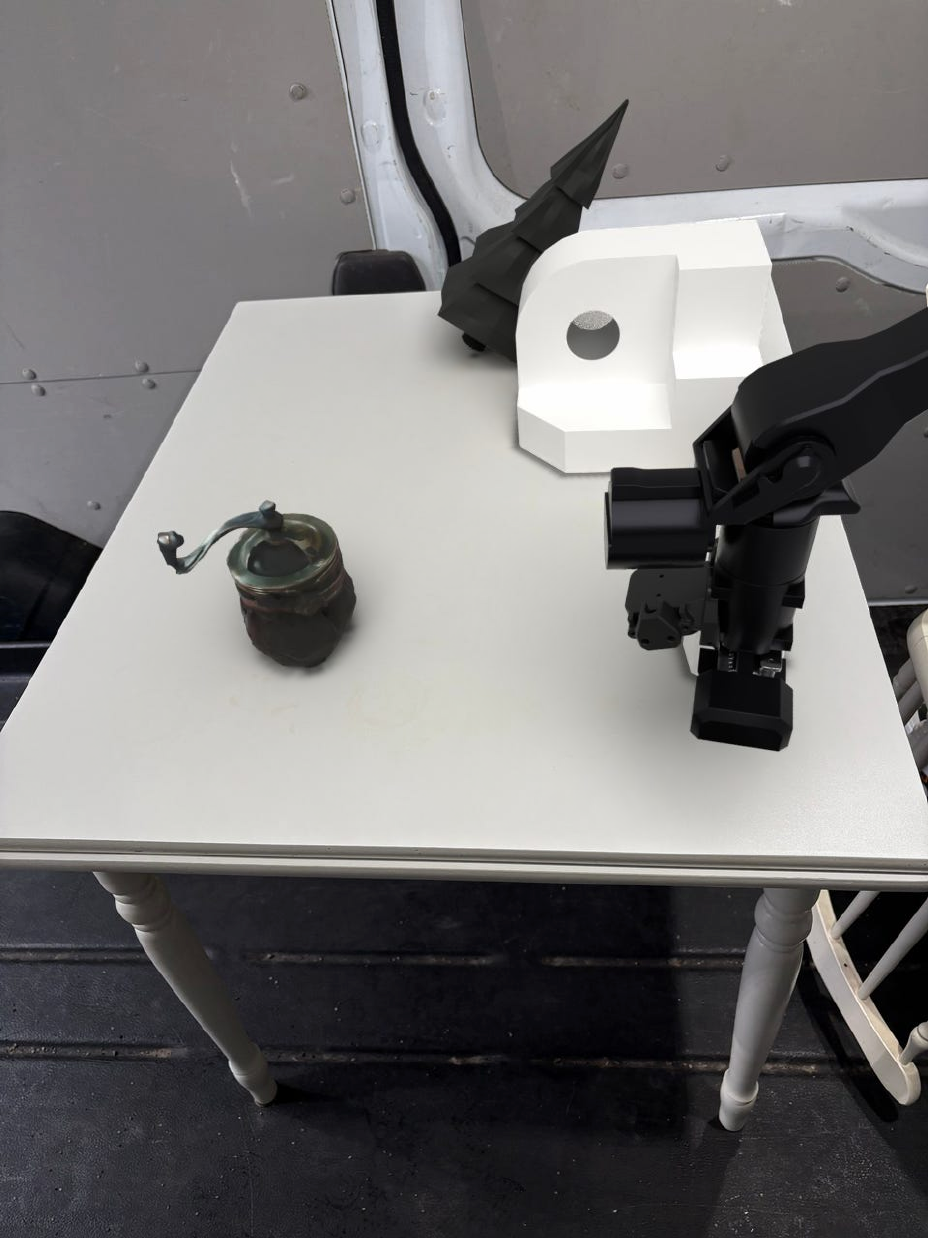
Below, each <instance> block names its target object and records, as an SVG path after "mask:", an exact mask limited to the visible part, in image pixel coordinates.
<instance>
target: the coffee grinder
mask: <svg viewBox="0 0 928 1238" xmlns="http://www.w3.org/2000/svg"><path fill="white" fill-rule="evenodd" d="M276 508H277V504H276V503H275V502H273V501H270V500H268V499H266V500H264V501H263V502H262V503H261V504H260V505H259V507H258V510H255V511H247V512H243V513H240V514H238V515H236V516H233V517H232V518H229V519H228V520H226V521H225V522H223V524H222V525H220V526H219V527H218V528H216V529H214V530H213V531H212V532H210V533H209V535H207V536H206V537H205V538H204V540H203V541H202V543H200V544H199V546H198V547H197V548H195V549H194V550H193V551H192V552H191V553H189V554H188V555H186V556H183V557H178V556H177V550H178V548H180V547H182V546H183V545H184V544H185V538H184V536H183V535H181V534H179V533H178V532H176V531H175V530H169V531H161V532H158V533H157V540H156V544H157V545H158V548H159V552H160V553H161V554H162V558H163V559H164V561H165V564H166V565H167V566H169V567H170V566H171V567H172V568H173V569H174V570H175V575H178V576H179V575H185V574H189V573H190V572H191V571H193V569H194V568H195V567H196V566H198V563H200V562H201V561H202V560H203V559H204V558H205V556H206V555H207V554H208V551H209V550H210V549H211V548H212V547H213V546H214V545H215V544H216V543H217V542H219V540H220V539H222V538H223V537H225V536H227V535H228V534H229V533H231V532H233V531H236V530H238V529H245V530H242V531H241V533H240V535H239V536H238V537H237V538H236V540H235V542H234V544H233V545H231V547H230V548H229V549H228V555H226V559H225V561H226V566H227V568H228V570H229V573H230V576H231V578H232V579H233V581H234V584H235V588H236V591H237V593H238V595H239V605H240V613H241V615H242V617H243V623H244V626H245V629H246V634H247V636H248V638H249V639H250V641H251V643H252V645H253V647H254V648H256V650H258V651H259V652H261V653H263V654H264V655H265V656H267V657H270V658H271V659H272V660H273V661H275V662H276V663H278V664H280V665H282V666H286V667H305V668H312V667H315V666H317V665H319V664H321V663H322V664H323V663H324V662H325V661H326V659H327V657H329V656H330V655H331V654H332V652H333V651H334V650H335V648H336V646H337V644H338V643H339V641H340V640H341V639H342V636H343V634H344V633H345V632H346V630H347V628H348V627H349V624H350V621H351V619H352V617H353V614H354V611H355V608H356V605H357V600H358V599H357V595H356V591H355V585H354V580H353V578H352V577H351V575H349V573H348V572H347V570H346V567H345V564H344V558H343V553H342V550H341V546H340V543H339V539H338V536H337V534H336V533H335V532H336V531H335V530H334V529H333V527H332V526H331V525H330V524H329V523H328V522H326V521H325V520H323V519H321V518H319V517H316V516H314V515H312V514H308V513H296V512H295V513H294V512H292V513H290V512H289V513H285V512H284V513H281V512H280V511H278V510H277V509H276Z"/></svg>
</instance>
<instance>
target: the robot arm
mask: <svg viewBox="0 0 928 1238" xmlns="http://www.w3.org/2000/svg"><path fill="white" fill-rule="evenodd" d="M927 411H928V306H926V307H924V308H923V309H920V310H918V311H917V312H915V313H913V314H911V315H909V316H908V317H906V318H904V319H902V320H900V321H899V322H896V323H894V324H893V325H891V326H889V327H887V328H885V329H883V330H880V331H878V332H875V333H872V334H870V335H867V336H865V337H862V338H856V339H845V340H837V341H830V342H820V343H817V344H814V345H812V346H809V347H806V348H804V349H801V350H799V351H796V352H794V353H791V354H788V355H786V356H783V357H781V358H778V359H776V360H773V361H771V362H769V363H766V364H763V366H762V367H760V368H758V369H757V370H755V371H754V372H753V373H751V374H750V375H748V376H747V377H746V378H745V379H744V380H743V381H742V382H741V383H740V385H739V386H738V391H737V393H736V395H735V398H734V400H733V403H732V404H731V405H730V406H729V407H728V408H727V409H726V410H725V411H724V412H723V413H722V414H721V415H720V416H719V417H718V418H717V419H716V420H715V421H714V422H713V423H712V424H711V425H710V426H709V427H708V428H707V429H706V430H705V431H704V432H703V433H702V434H701V435H700V436H699V437H698V438H697V439H696V440H695V441H694V442H693V444H692V447H693V452H694V457H695V462H694V468H667V469H641V468H635V467H614V468H613V469H611V471H610V472H609V473H610V474H609V481H608V485H607V491H604V496H603V497H604V500H603V544H604V545H603V546H604V564H605V565H604V566H605V570H606V571H610V570H612V571H614V570H618V571H619V570H634V571H633V572H632V573H631V575H630V577H629V582H628V586H627V592H626V596H625V601H624V609H625V611H626V613H627V622H628V627H627V632H626V633H627V634H626V635H627V636H628V637H629V638H630V639H633V640H636V641H637V643H638V646H639V648H641V649H643V650H644V651H647V652H650V651H651V652H652V651H659V650H660V651H661V650H668V649H669V650H670V649H677V648H679V647H680V645H681V644H682V642H683V641H682V640H683V638H684V636H689V635H692V634H695V633H697V632H698V631H701V632H700V640H699V645H702V646H710V647H713V648H714V649H708V648H700V650H699V659H698V669H697V672H698V674H699V675H698V676H696V677H695V683H694V691H693V698H692V705H691V707H692V708H691V717H690V727H689V732H690V733H691V734H692V736H694V737H695V738H696V739H697V740H701V741H707V742H713V743H720V744H725V745H726V744H727V745H732V746H737V747H744V748H751V749H758V750H765V751H771V752H777V753H779V752H781V751H783V750H784V749H786V748H787V747H789V743H790V741H791V737H792V733H793V731H794V689H793V688H792V687H791V686H790V684H788V683H787V658H785V657H783V658H782V651H785V652H791V651H792V648H793V644H794V619H793V618H795V615H794V614H796V610H797V609H800V610H803V608H804V604H805V599H806V572H807V569H808V564H809V561H810V557H811V555H812V551H813V546H814V542H815V538H816V534H817V530H818V527H819V524H820V520H821V517H824V516H825V517H827V516H854V515H858V514H860V512H861V510H862V504H861V503H860V501H859V498H858V495H857V493H856V491H855V488H854V485H853V483H852V480H851V479H850V476H851V475H852V474H854V473H856V472H857V471H859V470H860V469H862V468H863V467H865V466H867V465H868V464H870V463H871V462H873V461H874V460H876V459H877V457H878V456H879V455H880V454H881V453H882V452H883V451H884V449H885V448H886V447H887V446H888V445H889V444H890V443H891V441H892V440H893V439H894V438H895V437H896V436H897V434H898V433H899V432H900V431H901V430H902V428H904V426H905V425H907V424H908V423H910V422H912V421H913V420H915V419H916V418H918V417H920V416H921V415H922V414H924V413H926V412H927ZM738 447H739V451H740V455H741V458H742V462H743V466H744V470H745V472H746V475H747V476H746V477H743V478H741V479H740V477H739V473H738V469H737V465H736V461H735V457H734V453H733V450H735V449H736V448H738ZM717 526H720V529H719V535H718V536H717ZM716 536H717V537H716ZM707 552H709V556H708V561H706V556H707ZM792 622H793V623H792Z"/></svg>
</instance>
